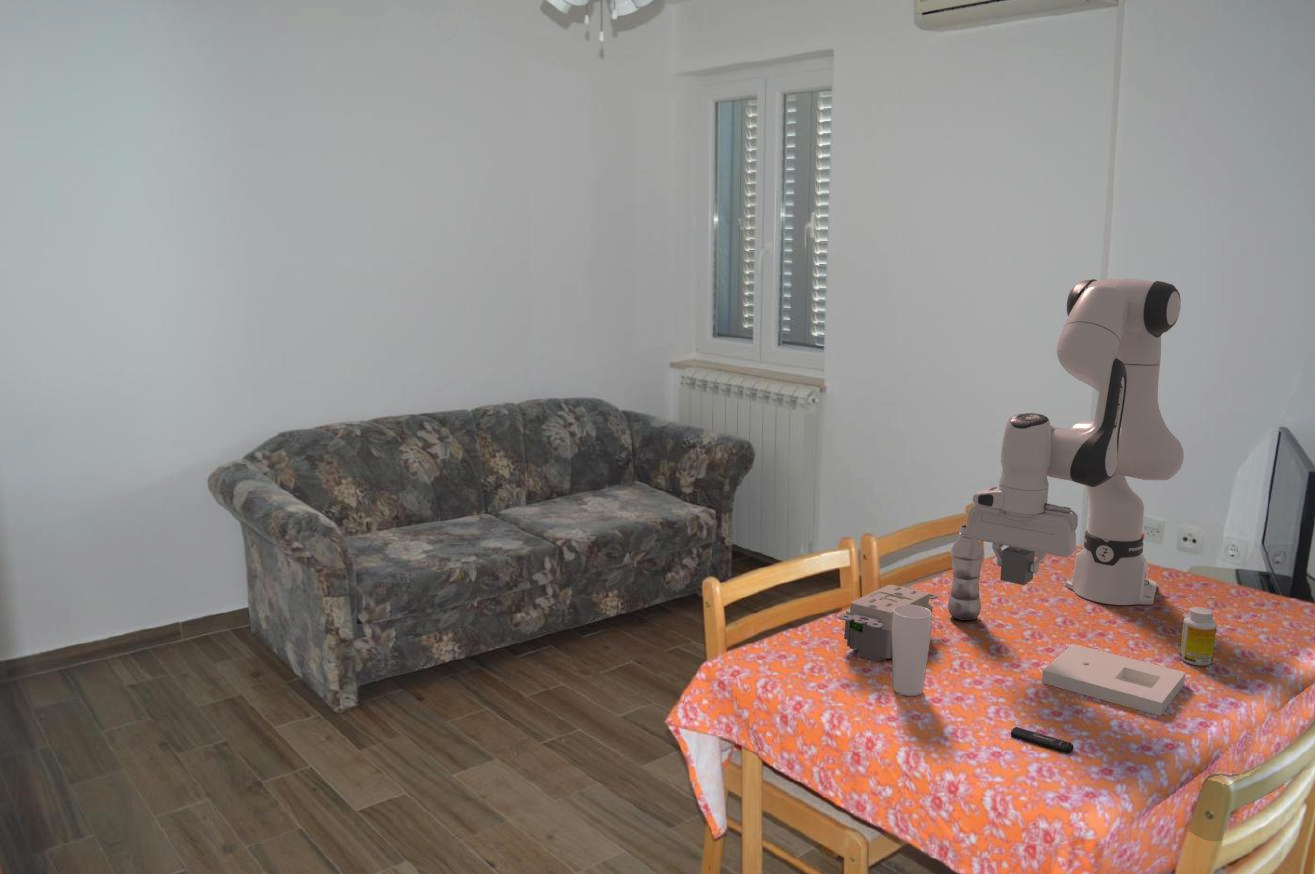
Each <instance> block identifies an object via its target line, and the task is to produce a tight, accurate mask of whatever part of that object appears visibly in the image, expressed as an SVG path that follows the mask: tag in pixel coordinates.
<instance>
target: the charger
mask: <svg viewBox="0 0 1315 874" xmlns="http://www.w3.org/2000/svg"><path fill="white" fill-rule="evenodd" d="M1030 562H1035V551H1031V550H1026V549H1021V548H1016V547H1011V546H1007V547H1006V548H1004V549H1002V564H1001V566H1000V578H999V579H1000V581H1002V582H1005V583H1011V584H1012V583H1013V584H1016V585H1020V586H1021V585H1022V586H1025V585H1027V584H1028V583H1030V582H1031V581H1033V578H1034V573H1030V572H1028V569H1029V568H1028V564H1029V563H1030Z"/></svg>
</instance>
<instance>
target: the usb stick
mask: <svg viewBox="0 0 1315 874" xmlns="http://www.w3.org/2000/svg"><path fill="white" fill-rule="evenodd" d="M1010 736H1011V738H1013V739H1015V740H1016V739H1017V740H1019V741H1023V742H1026V743H1030V744H1032V745H1036V746H1040V747H1043V748H1046V749H1050V750H1053V751H1056V752H1058V753H1063V754H1065V755H1068V754H1072V753H1073V751H1074V747H1075V746H1074V744H1073V743H1072V742H1070V741H1066V740H1062V739H1059V738H1055V737H1052V736H1049V735H1046V734H1042V733H1037V732H1035V731H1032V730H1028V729H1025V728H1022V727H1018V726H1015V727H1013V728H1012V729H1011V731H1010Z"/></svg>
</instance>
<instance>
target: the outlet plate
mask: <svg viewBox="0 0 1315 874" xmlns="http://www.w3.org/2000/svg"><path fill="white" fill-rule="evenodd" d="M1186 674H1187V673H1186V672H1185V671H1181V670H1178V669H1173V668H1170V667H1165V666H1161V665H1158V664H1153V663H1151V662H1150V663H1149V662H1146V661H1142V660H1138V659H1134V658H1129V657H1126V656H1122V655H1119V654H1115V653H1111V652H1106V651H1102V650H1098V649H1095V648H1090V647H1087V646H1083V645H1078V644H1076V643H1071V644H1070V646H1068V647H1067V648H1065V650H1064V651H1063V652H1061V653H1060V654H1059V655H1058V656H1057V657H1056V658H1055V659H1054V660H1052V661H1051V662H1050V663H1049V664H1048V665H1047V666H1046V667H1045V668H1044V669H1042V677H1041V683H1042V684H1045V685H1049V686H1052V687H1056V688H1059V689H1060V688H1061V689H1063V690H1065V691H1070V692H1074V693H1077V694H1081V695H1084V696H1087V697H1091V698H1095V699H1098V700H1101V701H1106V702H1109V703H1113V704H1117V705H1120V706H1124V707H1126V708H1130V709H1134V710H1137V711H1141V712H1144V713H1147V714H1148V713H1149V714H1151V715H1155V716H1159V717H1161V716H1162V715H1163V713H1165V710H1167V708H1168V707H1169V706H1170V704H1171V703H1172V702H1173V701H1174V699H1175V698H1176V696H1177V695H1178V694H1179V692H1180V691H1181V690H1182V688H1183V687H1184V686H1185V683H1186V682H1185V681H1186Z"/></svg>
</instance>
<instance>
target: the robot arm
mask: <svg viewBox="0 0 1315 874" xmlns="http://www.w3.org/2000/svg"><path fill="white" fill-rule="evenodd" d="M1181 303H1182V301H1181V295H1180V292H1179V290H1178V289H1177V288H1176V286H1175V285H1174V284H1172V283H1170V282H1169V283H1168V282H1165V281H1160V280H1155V281H1150V280H1145V279H1137V278H1123V279H1119V278H1118V279H1101V280H1100V279H1099V280H1097V279H1095V278H1094V279H1093V278H1092V279H1087V280H1082V281H1079V282H1078V283H1077V284H1076V285H1074V286H1073V287H1072V288H1071V290H1069V293H1068V296H1067V300H1066V314H1067V318H1066V320H1065V323H1064V326H1063V328H1062V330H1061V332H1060V335H1059V337H1058V338H1059V339H1058V341H1057V347H1056V355H1057V359H1058V361H1059V363H1060V365H1061V367H1062V368H1063V369H1064V370H1065V371H1066V372H1067V373H1068V374H1069V375H1071V376H1072V377H1073V378H1074V379H1076V380H1078V381H1079V382H1082V383H1084V384H1086V385H1088V386H1089V387H1091V388H1093V389H1095V390H1096V391H1097V393H1098V397H1097V402H1096V410H1095V415H1094V420H1085V421H1079V422H1076V423H1075V424H1074V425H1073V426H1072V427H1071V428H1070V429H1066V428H1061V427H1058V426H1057V427H1055V426H1054V425H1051V422H1050V418H1049V417H1047V416H1046V415H1045V414H1040V413H1035V412H1027V413H1026V412H1025V413H1018V414H1015V415H1014V416H1011V417H1010V418H1009V419H1008V420H1007V422H1006V424H1005V425H1006V426H1005V428H1004V433H1003V438H1002V443H1001V454H1000V463H1001V469H1002V470H1001V475H1000V478H999V482H998V483H999V484H998V486H992V487H987V488H984V489H982V490H979V491H977V492H976V493H974V494H973V495H972V496H973V497H972V502H973V504H974V505H972V506H971V507H970V508H969V511H968V514H967V520H966V525H967V526H966V533H967V535H968V536H969V538H971V539H976V540H978V541H981V542H986V543H992V545H991V548H992V550H993V552H994V555H995V557H996V566H998V567H1001V564H1002V550H1003V549H1002V548H1003V547H1004V546H1007V547H1009V546H1011V547H1016V548H1021V549H1026V550H1031V551H1035V557H1036V559H1035V560H1034V562H1030V563H1029V564H1028V568H1029V569H1028V572H1030V573H1033V574H1036V575H1037V574H1038V573H1039V570H1040V569H1039V568H1040V563H1041V562H1043V560H1044V559H1045V557H1046V555H1047V554H1048V555H1050V556H1051V555H1052V556H1056V557H1062V558H1067V557H1069V556H1071V555H1072V554H1073V553H1075V551H1076V549H1077V533H1076V530H1077V527H1078V524H1079V522H1078V521H1079V516H1078V514H1077V513H1076V512H1075V511H1074V510H1072V509H1071V507H1068V506H1059V505H1056V504H1051V503H1048V498H1049V484H1050V483H1049V479H1048V477H1049V478H1054V479H1059V480H1064V481H1069V482H1074V483H1076V484H1080V485H1084V486H1086V490H1087V494H1088V518H1087V529H1086V530H1085V532H1084V536H1083V547H1084V548H1083V549H1082V550H1080V551H1079V552H1077V553H1076V555H1075V562H1074V567H1073V568H1074V569H1073V574H1072V575H1073V576H1072V578H1071V579H1068V580H1065V584H1064V586H1065V587H1066V588H1068V589H1070V590H1072V591H1074V593H1076V595H1078V596H1079V597H1082V598H1083V599H1087V600H1089V601H1092V602H1096V603H1100V604H1107V605H1116V606H1131V605H1147V606H1148V605H1153V604H1154V601H1155V597H1156V592H1157V587H1158V585H1157V581H1155V580H1153V579H1150V578H1148V570H1149V569H1148V567H1149V562H1148V561H1147V559H1146V558H1145V556H1144V554H1143V552H1144V540H1145V533H1144V532H1142V531H1143V521H1144V515H1145V505H1144V501H1143V500H1142V499H1141V497H1140V496H1139V495H1138V494H1137V493H1136V492H1134V490H1133V489H1132V488H1131V487H1130V485H1129V483H1128V481H1127V479H1126V477H1130V478H1133V479H1138V480H1143V481H1168V480H1170V479H1172V478H1173V477H1175V476H1176V474H1177V473H1179V471H1180V470H1181V468H1182V466H1183V464H1184V457H1185V456H1184V449H1183V446H1182V442H1181V441H1180V440H1179V438H1177V437H1176V436H1175V435H1174V434H1173V433H1172V431H1170V429H1169V428H1168V427H1167V424H1166V423H1165V420H1164V418H1163V415H1162V413H1161V410H1160V405H1159V377H1160V369H1161V368H1160V367H1161V360H1162V359H1161V358H1162V335H1163V334H1165V333H1167V332H1168V331H1170V330H1171V329H1172V328H1173V327H1174V326H1175V325H1176V323H1177V321H1178V318H1179V316H1180V313H1181V306H1182V304H1181Z"/></svg>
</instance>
